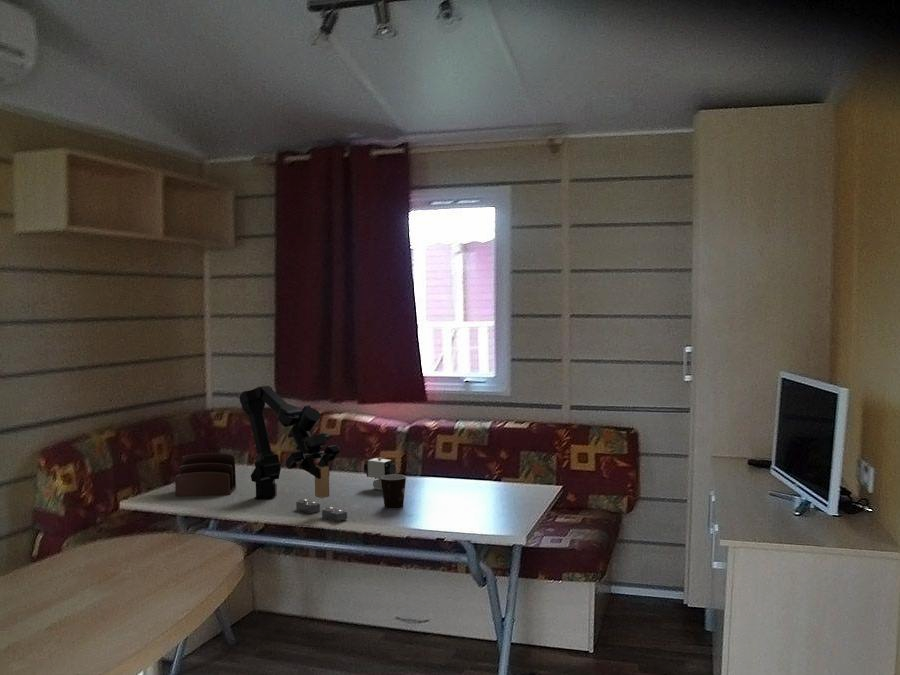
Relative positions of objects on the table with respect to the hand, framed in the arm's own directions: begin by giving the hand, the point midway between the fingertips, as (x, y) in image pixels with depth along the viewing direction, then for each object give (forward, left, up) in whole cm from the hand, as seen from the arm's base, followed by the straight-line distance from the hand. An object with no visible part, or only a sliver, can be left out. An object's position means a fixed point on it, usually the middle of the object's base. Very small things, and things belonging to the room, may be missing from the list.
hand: (324, 477), depth 258 cm
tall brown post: (-1, +1, -7) cm, 7 cm away
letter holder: (-51, +31, -13) cm, 61 cm away
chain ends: (-1, 0, -12) cm, 13 cm away
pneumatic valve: (+14, +35, -13) cm, 40 cm away
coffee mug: (+21, +9, -13) cm, 26 cm away
